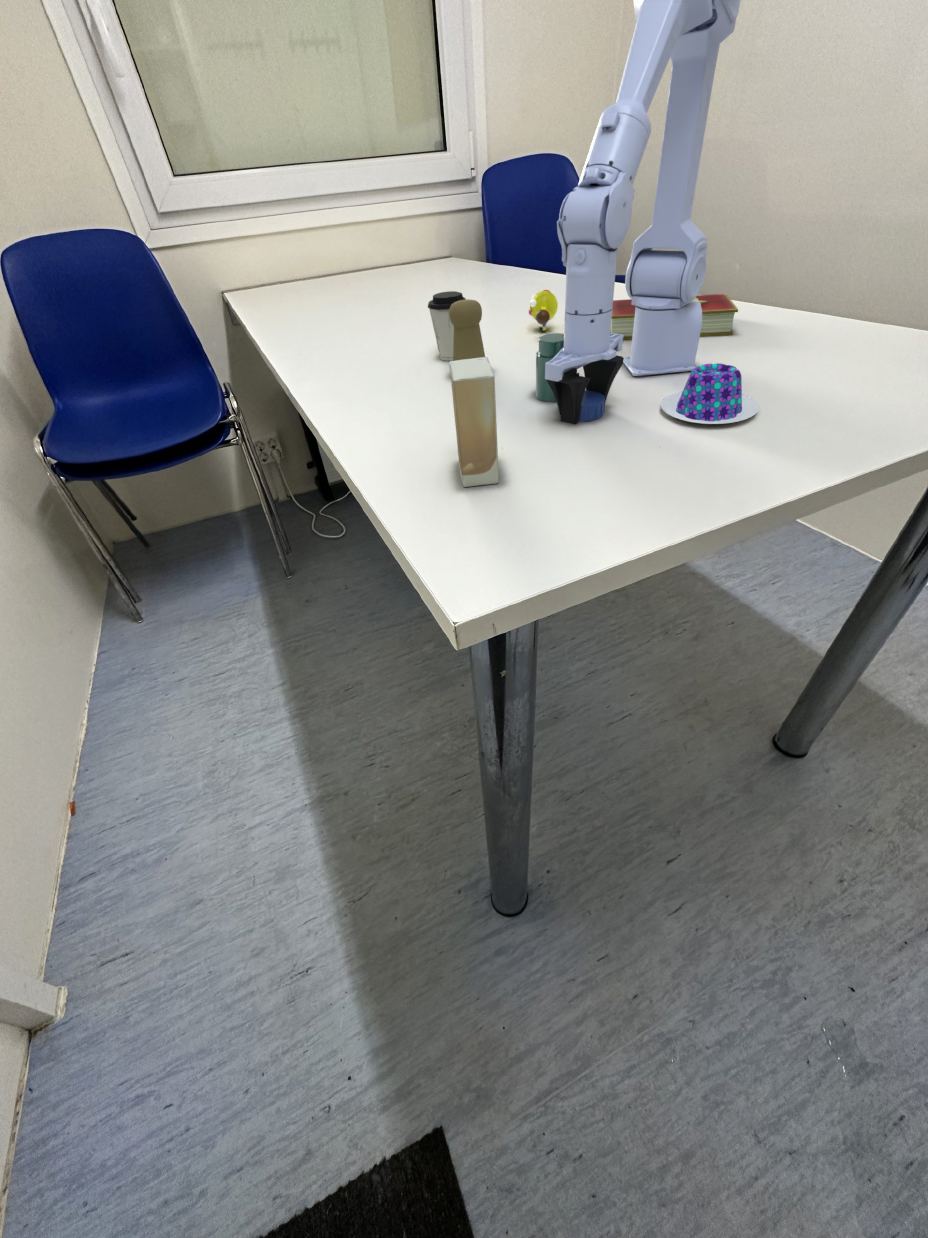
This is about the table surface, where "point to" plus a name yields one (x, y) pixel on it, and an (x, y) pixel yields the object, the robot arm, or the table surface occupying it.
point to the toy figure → (543, 308)
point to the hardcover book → (714, 306)
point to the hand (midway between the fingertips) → (581, 419)
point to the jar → (547, 352)
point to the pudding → (711, 397)
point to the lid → (592, 406)
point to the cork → (466, 329)
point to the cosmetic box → (475, 420)
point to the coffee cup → (444, 321)
